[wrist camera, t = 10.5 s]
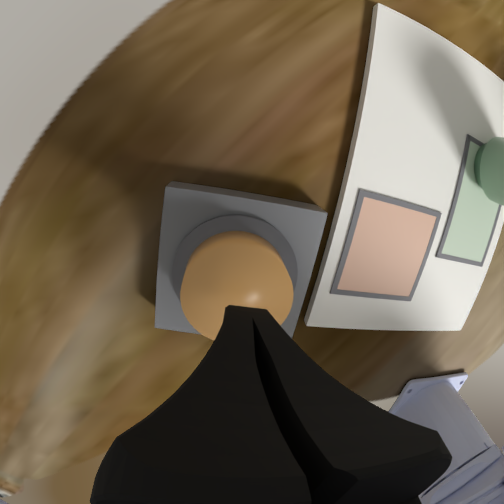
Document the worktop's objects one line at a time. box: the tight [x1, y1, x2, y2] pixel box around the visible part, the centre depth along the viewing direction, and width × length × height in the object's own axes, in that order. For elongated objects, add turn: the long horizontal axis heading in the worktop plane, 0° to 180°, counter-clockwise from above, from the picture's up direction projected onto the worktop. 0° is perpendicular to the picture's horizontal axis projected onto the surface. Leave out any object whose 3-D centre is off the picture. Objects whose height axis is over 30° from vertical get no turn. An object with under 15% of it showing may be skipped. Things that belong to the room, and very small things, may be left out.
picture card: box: [304, 3, 504, 331], centre depth 14 cm, size 18×13×1 cm
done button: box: [180, 231, 294, 340], centre depth 13 cm, size 4×4×2 cm
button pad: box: [155, 181, 328, 338], centre depth 14 cm, size 7×7×2 cm
